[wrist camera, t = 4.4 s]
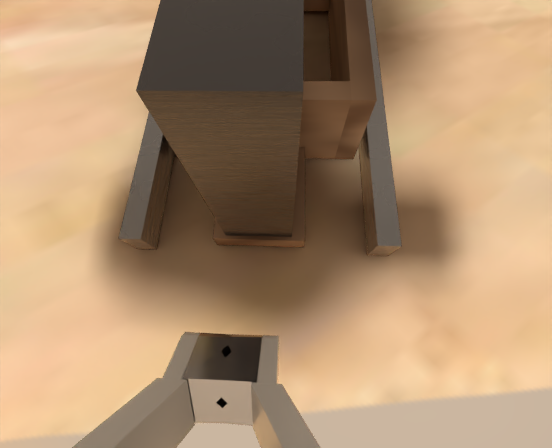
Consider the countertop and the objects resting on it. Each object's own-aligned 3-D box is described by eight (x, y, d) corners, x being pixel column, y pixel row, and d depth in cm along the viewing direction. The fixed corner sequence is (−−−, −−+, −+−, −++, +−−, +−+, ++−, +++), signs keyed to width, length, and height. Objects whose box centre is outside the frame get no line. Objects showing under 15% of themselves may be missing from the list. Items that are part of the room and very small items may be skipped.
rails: (136, 248, 17) (118, 238, 15) (201, -52, 27) (195, -80, 26) (388, 255, 16) (401, 246, 14) (355, -54, 27) (361, -83, 25)
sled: (163, 243, 17) (-41, 96, 6) (207, 2, 24) (148, -250, 14) (359, 248, 16) (496, 100, 6) (342, 1, 24) (388, -260, 13)
